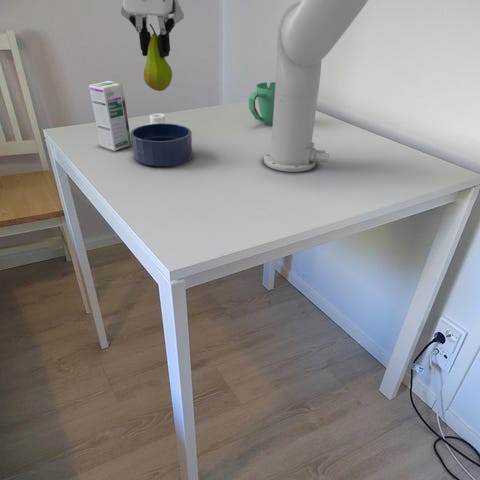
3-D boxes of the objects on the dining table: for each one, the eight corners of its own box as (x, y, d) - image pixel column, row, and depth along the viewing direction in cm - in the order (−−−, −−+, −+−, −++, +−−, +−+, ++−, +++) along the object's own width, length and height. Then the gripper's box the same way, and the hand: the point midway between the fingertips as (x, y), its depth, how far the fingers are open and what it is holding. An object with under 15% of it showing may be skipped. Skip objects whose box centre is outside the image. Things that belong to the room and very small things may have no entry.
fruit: (177, 92, 92) (173, 25, 84) (148, 94, 90) (142, 26, 82) (168, 85, 96) (164, 21, 89) (141, 87, 94) (135, 21, 87)
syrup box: (114, 151, 107) (104, 87, 98) (99, 146, 110) (88, 83, 100) (132, 145, 111) (123, 83, 101) (117, 141, 113) (107, 79, 104)
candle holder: (184, 126, 124) (183, 110, 122) (176, 139, 115) (175, 122, 112) (143, 124, 125) (141, 108, 122) (133, 137, 116) (130, 120, 113)
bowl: (201, 152, 108) (200, 127, 104) (177, 171, 98) (175, 145, 94) (150, 145, 111) (148, 120, 108) (123, 163, 101) (119, 137, 97)
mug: (268, 116, 135) (271, 80, 128) (293, 122, 130) (297, 86, 123) (237, 125, 126) (238, 88, 120) (262, 133, 121) (264, 94, 115)
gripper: (94, -64, 76) (111, 55, 88) (178, -62, 73) (185, 62, 85) (115, -62, 82) (129, 50, 94) (195, -60, 78) (199, 56, 90)
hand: (155, 54), depth 89 cm, fingers closed on fruit, 3 cm apart
